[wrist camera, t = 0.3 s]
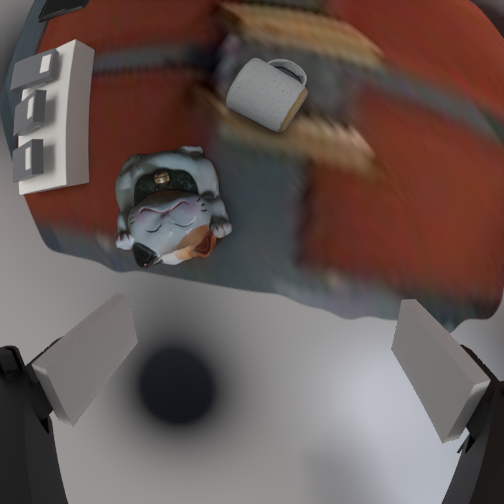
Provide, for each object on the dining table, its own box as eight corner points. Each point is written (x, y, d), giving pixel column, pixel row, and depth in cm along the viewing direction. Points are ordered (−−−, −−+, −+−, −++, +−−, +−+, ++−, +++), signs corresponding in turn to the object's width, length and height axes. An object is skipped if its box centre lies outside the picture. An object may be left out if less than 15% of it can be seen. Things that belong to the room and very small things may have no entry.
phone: (49, -5, 29) (97, -22, 29) (51, -3, 30) (100, -19, 30) (36, 22, 31) (83, 6, 31) (38, 24, 32) (86, 9, 32)
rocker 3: (23, 181, 34) (12, 182, 32) (22, 150, 32) (12, 151, 30) (43, 173, 31) (31, 174, 29) (43, 138, 30) (31, 139, 28)
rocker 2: (23, 135, 32) (12, 136, 30) (25, 107, 31) (14, 106, 29) (44, 122, 29) (31, 121, 27) (46, 90, 28) (35, 89, 26)
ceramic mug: (282, 140, 37) (284, 130, 29) (229, 112, 36) (219, 96, 29) (319, 80, 34) (328, 59, 27) (267, 54, 34) (266, 29, 26)
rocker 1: (16, 92, 28) (9, 89, 26) (20, 66, 27) (14, 62, 25) (55, 79, 29) (49, 75, 27) (59, 52, 28) (54, 47, 26)
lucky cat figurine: (225, 144, 37) (242, 187, 27) (221, 218, 45) (234, 282, 34) (116, 148, 34) (85, 195, 23) (125, 223, 41) (108, 287, 31)
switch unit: (45, 71, 35) (20, 63, 28) (94, 50, 34) (70, 36, 27) (40, 191, 41) (12, 196, 34) (89, 182, 40) (60, 185, 33)
